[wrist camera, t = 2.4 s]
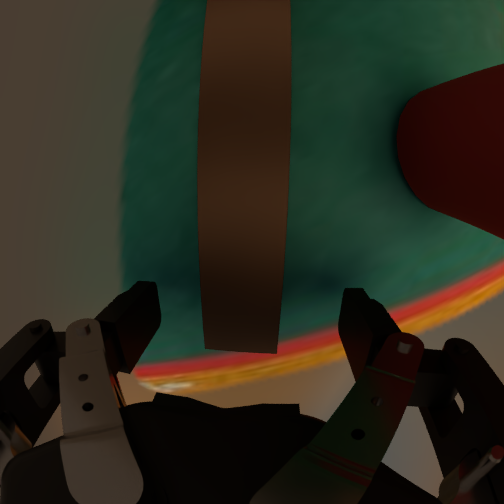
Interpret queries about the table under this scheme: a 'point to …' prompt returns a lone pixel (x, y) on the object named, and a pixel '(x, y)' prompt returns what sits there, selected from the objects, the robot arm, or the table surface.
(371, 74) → the table surface
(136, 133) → the table surface
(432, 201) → the beer can
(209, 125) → the walnut plank
